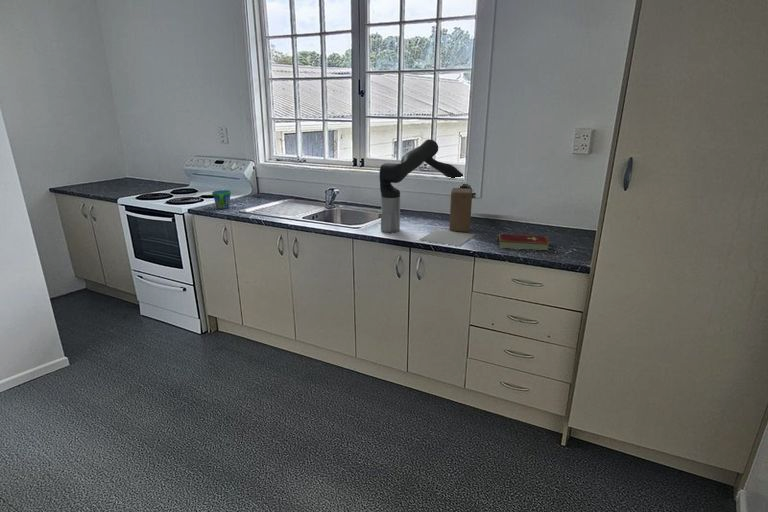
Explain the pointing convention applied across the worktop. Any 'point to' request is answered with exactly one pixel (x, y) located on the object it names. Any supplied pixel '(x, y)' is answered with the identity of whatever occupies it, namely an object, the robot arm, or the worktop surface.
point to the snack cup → (222, 198)
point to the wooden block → (460, 209)
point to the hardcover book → (523, 241)
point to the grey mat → (447, 237)
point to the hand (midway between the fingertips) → (462, 197)
